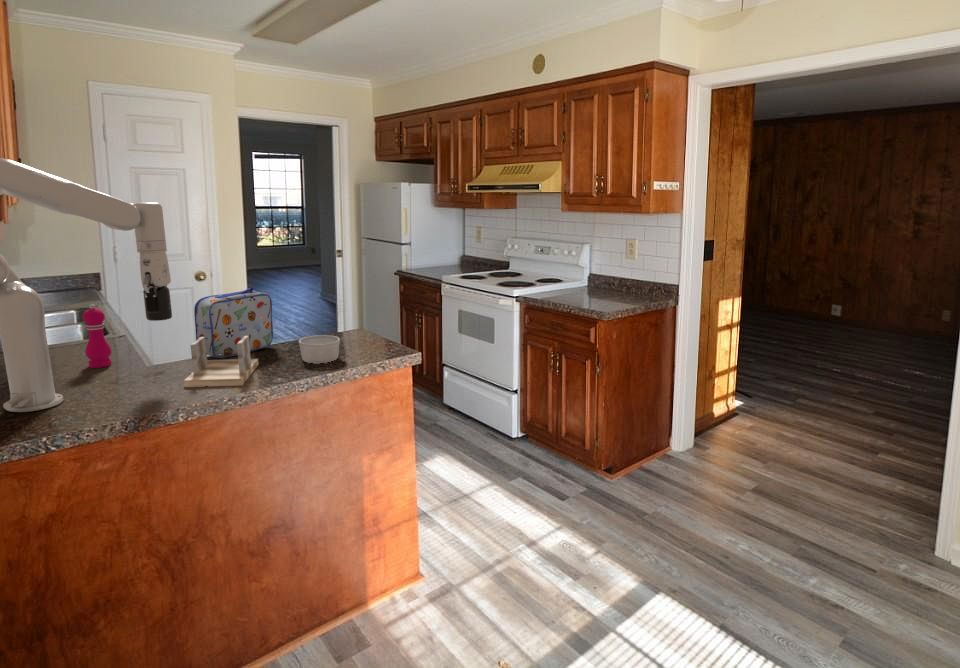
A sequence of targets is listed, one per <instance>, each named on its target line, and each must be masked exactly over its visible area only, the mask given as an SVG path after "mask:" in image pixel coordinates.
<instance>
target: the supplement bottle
mask: <svg viewBox="0 0 960 668" xmlns="http://www.w3.org/2000/svg"><path fill="white" fill-rule="evenodd" d="M150 286H154V285H150ZM152 290H153V292H154V289H152ZM142 294H143V301H144V310H145V318H146V320H148V321H152V322H153V321H154V322H157V321H166V320H169V319H172V317H173V312H172V301H171V294H170V289H169V287H168V286H167V287H166V286H163V287H158V286H157V297H158V299H159V308H160V310H159V311H147V305H146V297H145V292H144V290H143V293H142Z"/></svg>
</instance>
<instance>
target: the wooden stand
mask: <svg viewBox="0 0 960 668" xmlns="http://www.w3.org/2000/svg"><path fill="white" fill-rule="evenodd" d="M237 351H238V355H237V358H236V359H235V358H234V359H209V360H208V355H207V354H206V343H205V337H200V338H199V339H197V340H196V339H195V341H194V342H192V343H191V344H190V354H191V361H192V362H191V363H192V372H191V373H190V375H188V376H187V377H186V378H185V379H184V380H183V384H184V388H205V386H208V387H232V386H233V387H235V386H236V387H237V386H244V385H245V383H246V381H247V380H248V379H249V378H250V376H251V375H252V374H253V372H254V371H255V370H256V369H257V368H258V366H259V364H260V363H259V358H252V356H251V352H250V344H249V336H244V337H243V338H242V339H241V340H240V341H239V342H238V343H237Z"/></svg>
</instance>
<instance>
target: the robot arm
mask: <svg viewBox="0 0 960 668" xmlns="http://www.w3.org/2000/svg"><path fill="white" fill-rule="evenodd" d="M3 195H6V196H9V197H12V198H15V199H18V200H20V201H22V202H23V201H24V202H27V203H30V204H33V205H36V206H39V207H42V208H45V209H47V210H50V211H54V212H58V213H59V214H65V215H71V216H76V217H80V218H84V219H87V220H92V221H94V222H98V223H101V224H103V225H104V226H106V227H107V228H108V229H109V228H110V229H112V230H117V231H122V232H123V231H124V232H125V231H126V232H127V231H132V230H134V235H135V243H136V251H137V253H139V269H140V278H141V279H140V280H141V285H142V288H143V291H144V292H145V297H146V305H147V311H159V310H160V308H159V299H158V297H157V286H158V287H163V286H166V287H168V286H169V284H170V283H171V280H172V279H171V272H170V265H169V259H168V255H167V251H168V249H167V240H166V232H165V231H166V230H165V221H164V213H163V212H164V211H163V206H162V205H161V204H160V203H159V202H152V201H151V202H150V201H149V202H147V201H146V202H145V201H142V202H141V201H140V202H135V203H130V202H127V201H125V200H122V199H120V198H117V197H114V196H111V195H109V194H106V193H103V192H100V191H98V190H94V189H92V188H88V187H85V186H84V185H81V184H79V183H76V182H73V181H70V180H68V179H64V178H63V177H59V176H57V175H53V174H50V173H47V172H44V171H43V170H40V169H37V168H34V167H31V166H29V165H26V164H23V163H20V162H18V161H15V160H12V159H8V158H3V157H2V158H1V157H0V196H3ZM150 285H154V286H150ZM152 289H154V292H153V290H152ZM44 306H45V305H44V303H43V299H42V297H41V296H40V294H38V292H37V291H36V290H34V289H33V288H32V287H29V286H28V285H26V283H24V282H23V281H22V280H21V279H20V277H19V276H18V275H17V274H16V273H15V272H14V270H13V269H12V268H11V267H10V265H9V263H8V261H7V259H6V258H5V256H4V255H3V254H1V253H0V342H1V348H2V352H3V358H4V364H5V365H4V366H5V370H6V375H7V381H8V387H9V396H10V397H9V398H10V399H9V400H7V401H6V402H4V403H3V404H2V407H3V408H4V410H6V411H7V412H11V413H28V412H34V411H41V410H45V409H49V408H52V407H55V406H58V405H60V404H62V402H64V395H62V394H60V393H56V389H55V381H54V377H53V369H52V362H51V357H50V349H49V343H48V337H47V331H46V330H47V329H46V320H45V319H46V318H45V307H44Z"/></svg>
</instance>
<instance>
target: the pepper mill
mask: <svg viewBox="0 0 960 668" xmlns="http://www.w3.org/2000/svg"><path fill="white" fill-rule="evenodd" d="M88 308H89V309H86V310H85V311H84V312H83V313H82V321H83V322H84V323H86V324H85V330H87V332H88V341H87V344H86V346H85V357H86V358H87V359H89V360H88V367H89V368H90V369H99V368H100V369H101V368H106V367H107V368H108V367H110V366H111V365H112V363H113V362H112V359H111V358H110V356H111V355H112V353H113V352H112V348H111V346H110V344H109V343H108V341H107V339H106V338H105V335H104V328H105V326H104V325H105V323H104V320H106V315H105V312H104V311H102V310H101V309H99V308H97V307H96V304H94V303H91V304H89V306H88Z"/></svg>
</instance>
